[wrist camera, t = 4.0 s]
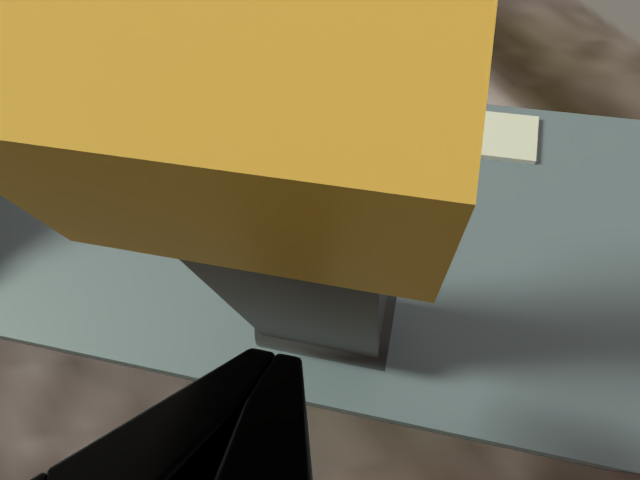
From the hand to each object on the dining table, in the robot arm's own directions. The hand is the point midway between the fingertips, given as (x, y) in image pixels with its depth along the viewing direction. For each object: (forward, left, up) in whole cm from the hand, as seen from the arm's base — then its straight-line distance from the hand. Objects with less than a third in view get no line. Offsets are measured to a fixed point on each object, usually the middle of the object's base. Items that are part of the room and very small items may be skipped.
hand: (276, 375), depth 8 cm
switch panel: (+2, +8, -8) cm, 12 cm away
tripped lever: (+2, +1, -4) cm, 5 cm away
